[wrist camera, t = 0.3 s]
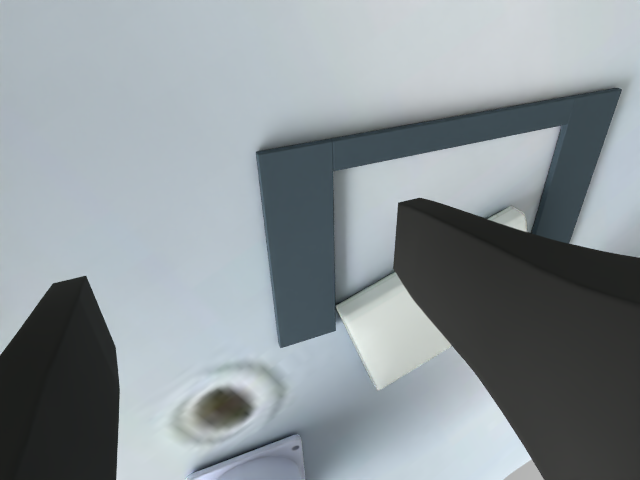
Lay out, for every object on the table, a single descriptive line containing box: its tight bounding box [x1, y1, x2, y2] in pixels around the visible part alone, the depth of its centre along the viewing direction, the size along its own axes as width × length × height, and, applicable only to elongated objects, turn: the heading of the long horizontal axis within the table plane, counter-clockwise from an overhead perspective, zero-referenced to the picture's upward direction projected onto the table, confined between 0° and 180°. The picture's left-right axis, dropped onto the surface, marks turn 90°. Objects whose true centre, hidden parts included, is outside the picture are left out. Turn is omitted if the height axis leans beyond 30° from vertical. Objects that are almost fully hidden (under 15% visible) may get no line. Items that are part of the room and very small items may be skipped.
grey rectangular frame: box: [256, 88, 622, 348], centre depth 26 cm, size 12×21×1 cm, turn 92°
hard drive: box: [336, 206, 527, 391], centre depth 28 cm, size 2×8×12 cm
